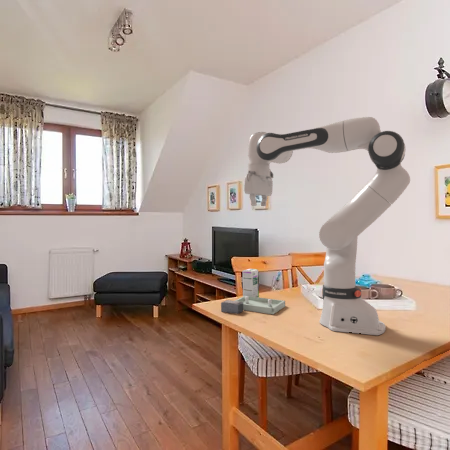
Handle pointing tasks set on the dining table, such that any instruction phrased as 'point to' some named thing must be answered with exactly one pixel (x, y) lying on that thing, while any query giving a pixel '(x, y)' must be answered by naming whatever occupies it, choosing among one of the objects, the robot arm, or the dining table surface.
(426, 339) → the dining table surface
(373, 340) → the dining table surface
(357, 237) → the robot arm
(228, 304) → the grey rectangular block
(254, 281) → the syrup box
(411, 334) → the dining table surface
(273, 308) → the tray
